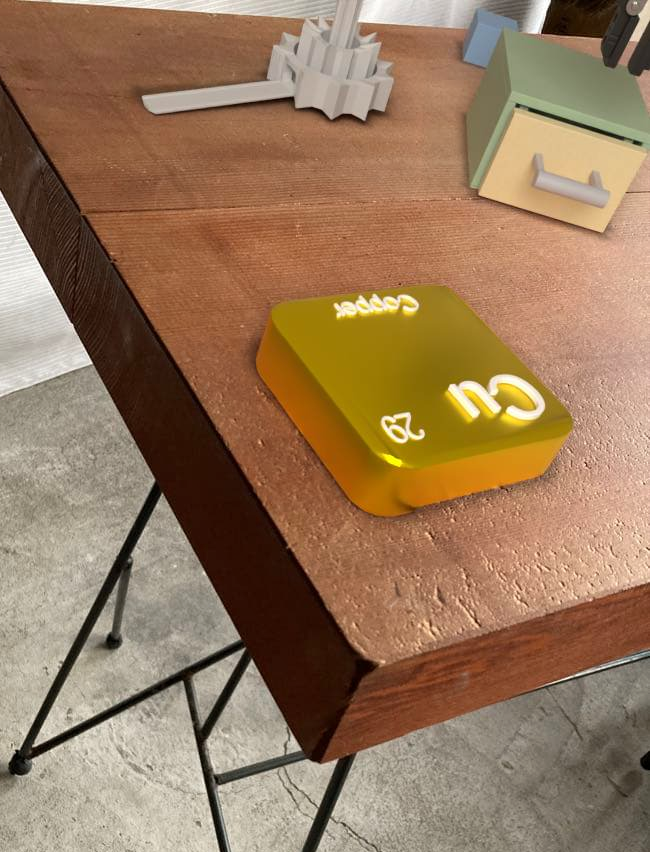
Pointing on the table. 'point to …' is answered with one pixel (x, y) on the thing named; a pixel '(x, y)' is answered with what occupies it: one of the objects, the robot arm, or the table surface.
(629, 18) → the robot arm
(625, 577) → the table surface
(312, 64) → the mechanical component
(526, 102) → the cabinet
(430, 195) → the table surface
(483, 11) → the block
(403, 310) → the element tile
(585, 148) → the drawer
